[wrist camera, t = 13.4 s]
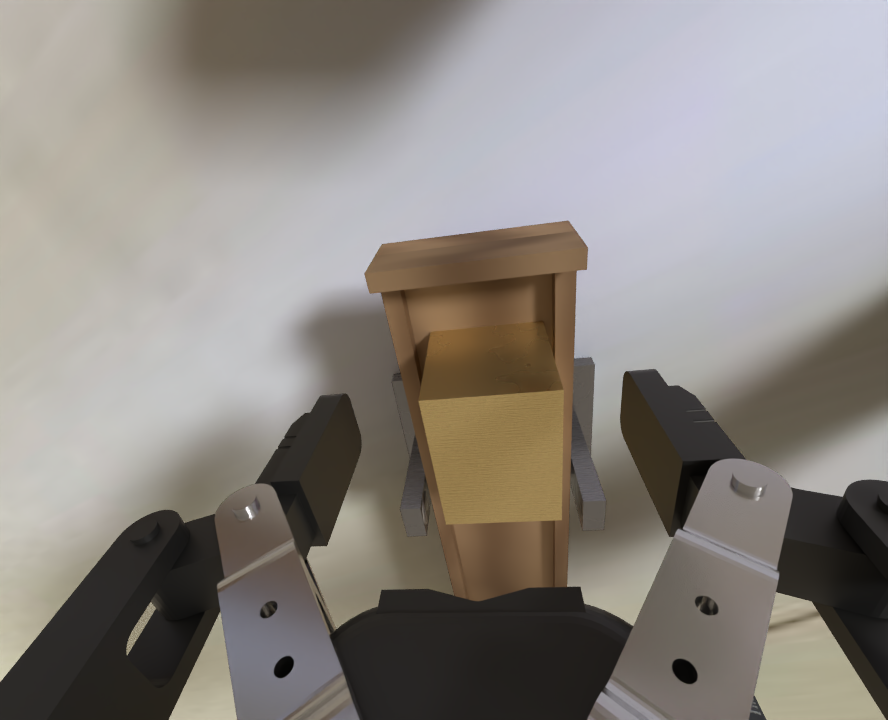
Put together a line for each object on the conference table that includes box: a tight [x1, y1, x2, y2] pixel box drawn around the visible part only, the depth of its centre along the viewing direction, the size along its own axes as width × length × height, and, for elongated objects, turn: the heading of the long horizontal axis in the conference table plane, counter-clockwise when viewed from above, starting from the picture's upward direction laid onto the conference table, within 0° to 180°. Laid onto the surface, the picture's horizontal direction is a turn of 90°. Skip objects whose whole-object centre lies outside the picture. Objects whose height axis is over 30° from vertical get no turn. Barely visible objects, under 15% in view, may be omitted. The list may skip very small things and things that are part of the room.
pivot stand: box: [392, 357, 606, 536], centre depth 28 cm, size 14×10×9 cm
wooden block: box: [418, 321, 564, 525], centre depth 18 cm, size 5×5×7 cm
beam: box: [365, 221, 588, 601], centre depth 27 cm, size 8×40×4 cm, turn 8°
